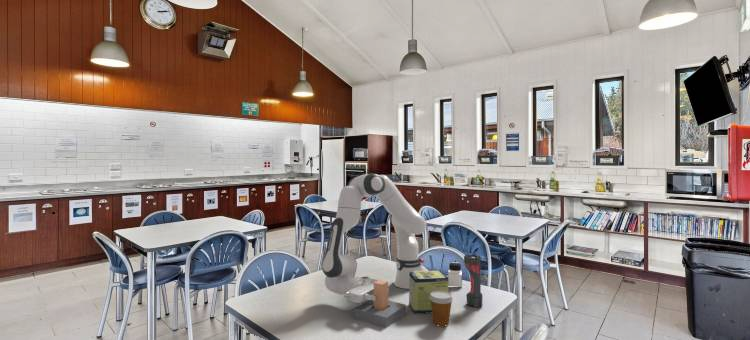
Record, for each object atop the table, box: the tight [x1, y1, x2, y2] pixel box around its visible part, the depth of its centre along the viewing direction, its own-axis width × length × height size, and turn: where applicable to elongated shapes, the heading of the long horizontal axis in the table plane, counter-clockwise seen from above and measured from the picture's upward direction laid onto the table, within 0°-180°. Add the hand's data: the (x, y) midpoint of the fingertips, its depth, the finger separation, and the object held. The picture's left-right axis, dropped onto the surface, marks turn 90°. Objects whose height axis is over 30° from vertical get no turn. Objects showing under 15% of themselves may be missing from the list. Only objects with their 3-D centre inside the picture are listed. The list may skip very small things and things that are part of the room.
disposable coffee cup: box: [429, 291, 454, 327], centre depth 153 cm, size 10×10×12 cm
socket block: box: [353, 299, 407, 329], centre depth 160 cm, size 16×16×4 cm
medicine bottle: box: [447, 261, 463, 288], centre depth 199 cm, size 7×7×12 cm
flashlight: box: [463, 253, 483, 307], centre depth 173 cm, size 8×8×23 cm
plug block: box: [374, 279, 389, 311], centre depth 160 cm, size 4×4×14 cm
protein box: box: [408, 270, 449, 314], centre depth 168 cm, size 10×16×16 cm
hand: (382, 294), depth 159 cm, fingers open, 8 cm apart
